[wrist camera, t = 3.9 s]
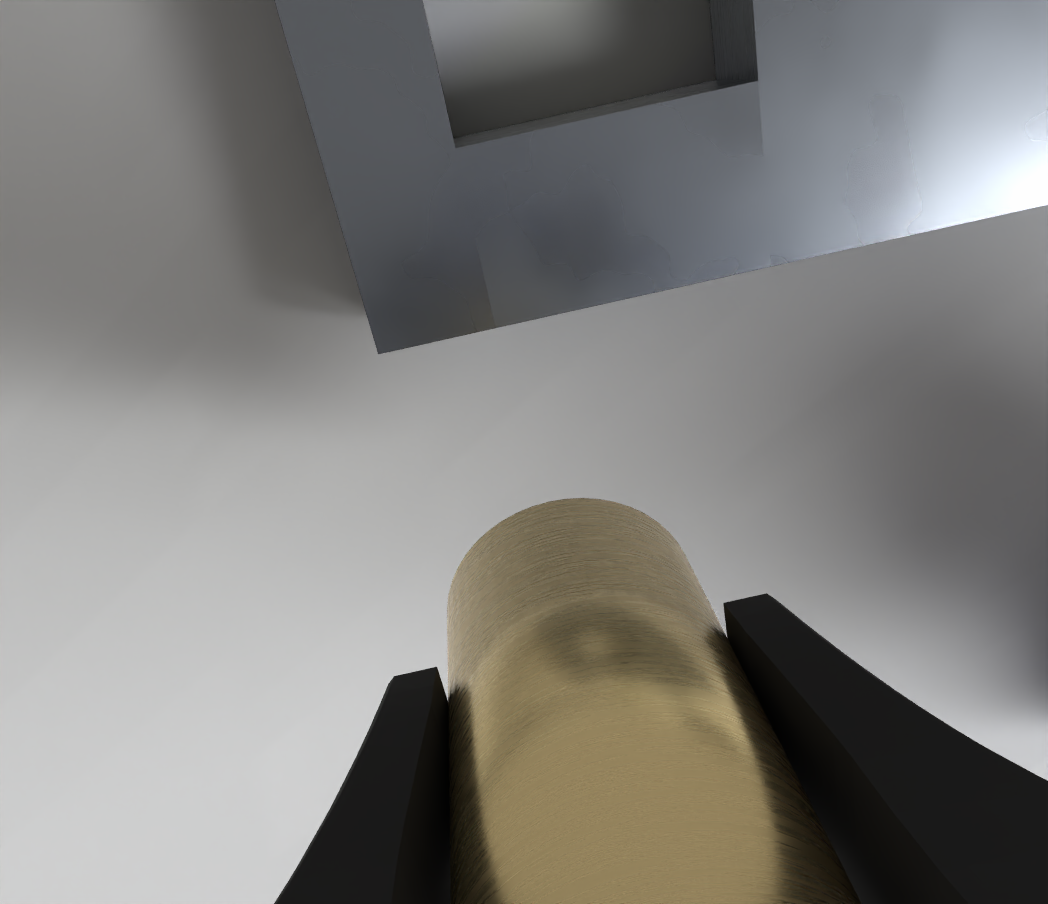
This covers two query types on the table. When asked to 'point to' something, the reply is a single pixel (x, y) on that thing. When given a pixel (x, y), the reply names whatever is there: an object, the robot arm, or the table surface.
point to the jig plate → (668, 155)
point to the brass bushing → (612, 729)
